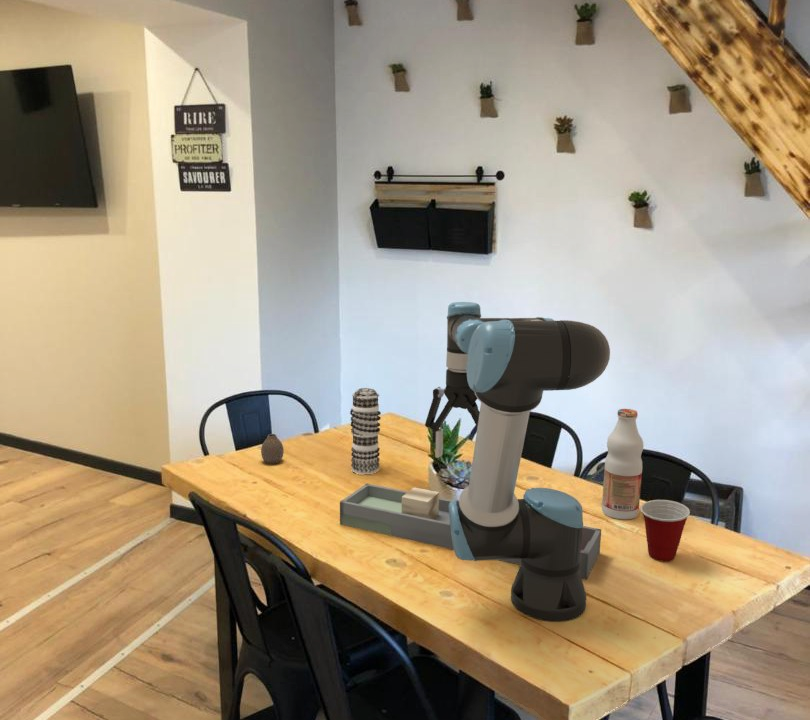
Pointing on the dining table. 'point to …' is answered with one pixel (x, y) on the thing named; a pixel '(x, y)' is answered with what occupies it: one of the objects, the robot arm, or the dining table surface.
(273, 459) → the vase
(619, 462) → the fruit juice
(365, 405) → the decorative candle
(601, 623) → the dining table surface
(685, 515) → the plastic cup
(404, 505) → the beech block
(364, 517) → the tray
